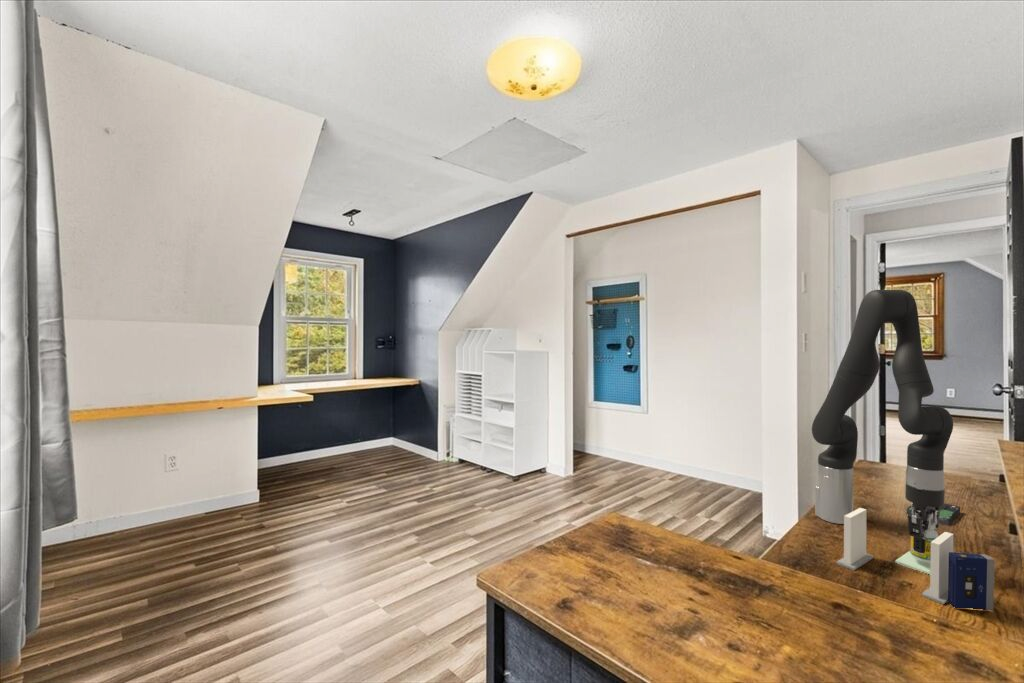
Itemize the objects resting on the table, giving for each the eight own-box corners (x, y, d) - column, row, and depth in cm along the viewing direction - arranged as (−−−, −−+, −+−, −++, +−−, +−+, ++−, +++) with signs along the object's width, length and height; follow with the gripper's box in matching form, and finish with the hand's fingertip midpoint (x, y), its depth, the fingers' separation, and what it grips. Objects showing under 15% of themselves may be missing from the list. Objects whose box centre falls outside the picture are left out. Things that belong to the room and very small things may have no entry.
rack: (836, 563, 123) (836, 515, 122) (856, 551, 128) (856, 505, 128) (944, 605, 104) (945, 548, 104) (961, 588, 110) (962, 534, 110)
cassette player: (954, 609, 103) (955, 555, 102) (947, 602, 105) (948, 550, 105) (994, 612, 101) (995, 558, 101) (986, 606, 104) (987, 553, 103)
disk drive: (918, 505, 159) (906, 516, 150) (918, 497, 159) (906, 508, 150) (960, 514, 151) (949, 527, 142) (960, 506, 151) (949, 518, 142)
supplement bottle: (921, 551, 124) (921, 516, 123) (943, 561, 119) (944, 524, 118) (905, 554, 123) (905, 518, 122) (927, 564, 117) (927, 527, 117)
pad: (895, 563, 122) (895, 560, 122) (909, 553, 127) (909, 551, 127) (940, 578, 115) (940, 576, 115) (953, 567, 119) (953, 565, 119)
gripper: (917, 474, 127) (916, 535, 128) (895, 485, 119) (894, 550, 120) (954, 482, 120) (953, 546, 121) (933, 494, 113) (932, 563, 114)
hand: (923, 548), depth 121 cm, fingers closed on supplement bottle, 5 cm apart
